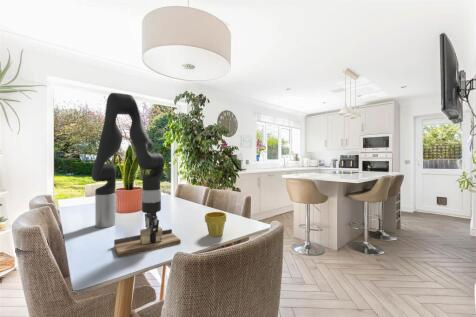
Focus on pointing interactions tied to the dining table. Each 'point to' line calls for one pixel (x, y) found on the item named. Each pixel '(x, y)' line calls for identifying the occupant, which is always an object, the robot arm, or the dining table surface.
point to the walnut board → (135, 246)
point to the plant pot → (215, 223)
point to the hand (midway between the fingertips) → (151, 240)
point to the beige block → (146, 235)
